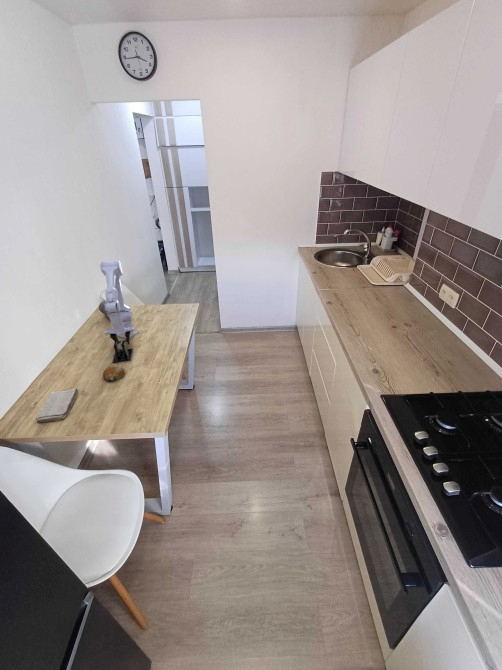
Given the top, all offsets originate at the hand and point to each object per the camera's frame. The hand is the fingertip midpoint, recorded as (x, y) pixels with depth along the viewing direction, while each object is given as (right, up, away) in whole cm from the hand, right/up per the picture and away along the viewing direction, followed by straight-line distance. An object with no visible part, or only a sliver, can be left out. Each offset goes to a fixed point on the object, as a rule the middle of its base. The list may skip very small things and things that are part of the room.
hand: (123, 343), depth 175 cm
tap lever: (+1, -1, -5) cm, 5 cm away
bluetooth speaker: (-18, +15, +33) cm, 41 cm away
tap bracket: (+2, -7, -5) cm, 8 cm away
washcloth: (-14, -27, -35) cm, 47 cm away
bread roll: (+3, -16, -19) cm, 25 cm away
